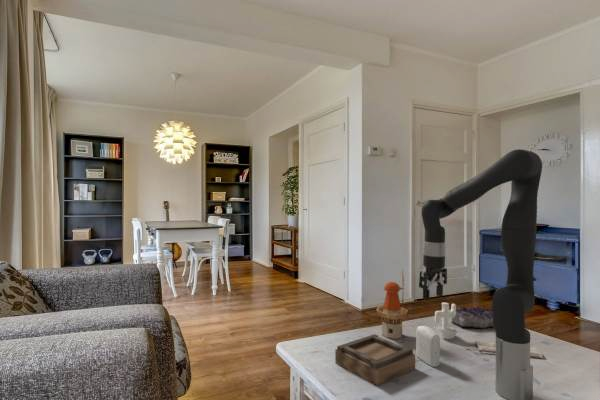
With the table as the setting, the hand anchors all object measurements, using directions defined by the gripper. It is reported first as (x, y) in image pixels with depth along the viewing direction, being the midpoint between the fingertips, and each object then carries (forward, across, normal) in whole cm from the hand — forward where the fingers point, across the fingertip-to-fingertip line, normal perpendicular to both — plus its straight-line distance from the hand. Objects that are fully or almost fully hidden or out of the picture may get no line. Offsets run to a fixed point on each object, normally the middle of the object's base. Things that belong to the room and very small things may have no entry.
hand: (432, 297), depth 131 cm
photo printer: (+24, 0, +1) cm, 24 cm away
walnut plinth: (+24, -19, +10) cm, 33 cm away
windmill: (+25, +9, +24) cm, 36 cm away
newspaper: (+25, +34, -13) cm, 44 cm away
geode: (+25, +52, +10) cm, 58 cm away
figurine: (+25, +27, +10) cm, 38 cm away
